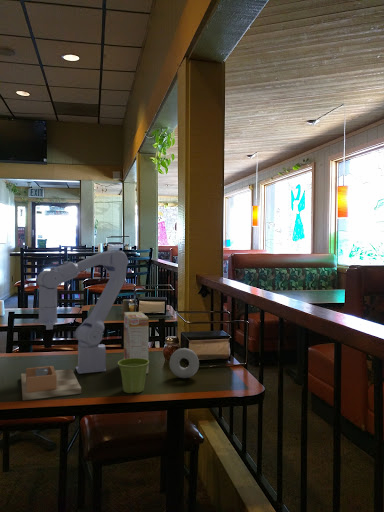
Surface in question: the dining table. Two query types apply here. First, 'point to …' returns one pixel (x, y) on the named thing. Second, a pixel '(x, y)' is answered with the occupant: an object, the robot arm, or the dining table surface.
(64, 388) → the board
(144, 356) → the coffeecake box
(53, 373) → the light brown open box
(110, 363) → the dining table surface
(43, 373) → the peg
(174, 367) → the donut
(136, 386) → the plant pot
